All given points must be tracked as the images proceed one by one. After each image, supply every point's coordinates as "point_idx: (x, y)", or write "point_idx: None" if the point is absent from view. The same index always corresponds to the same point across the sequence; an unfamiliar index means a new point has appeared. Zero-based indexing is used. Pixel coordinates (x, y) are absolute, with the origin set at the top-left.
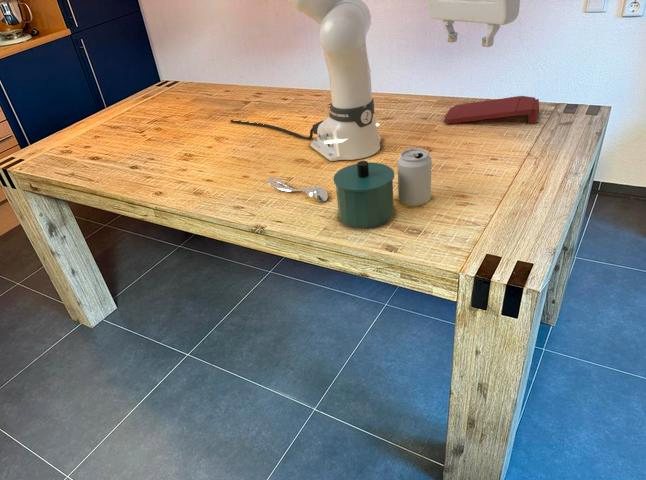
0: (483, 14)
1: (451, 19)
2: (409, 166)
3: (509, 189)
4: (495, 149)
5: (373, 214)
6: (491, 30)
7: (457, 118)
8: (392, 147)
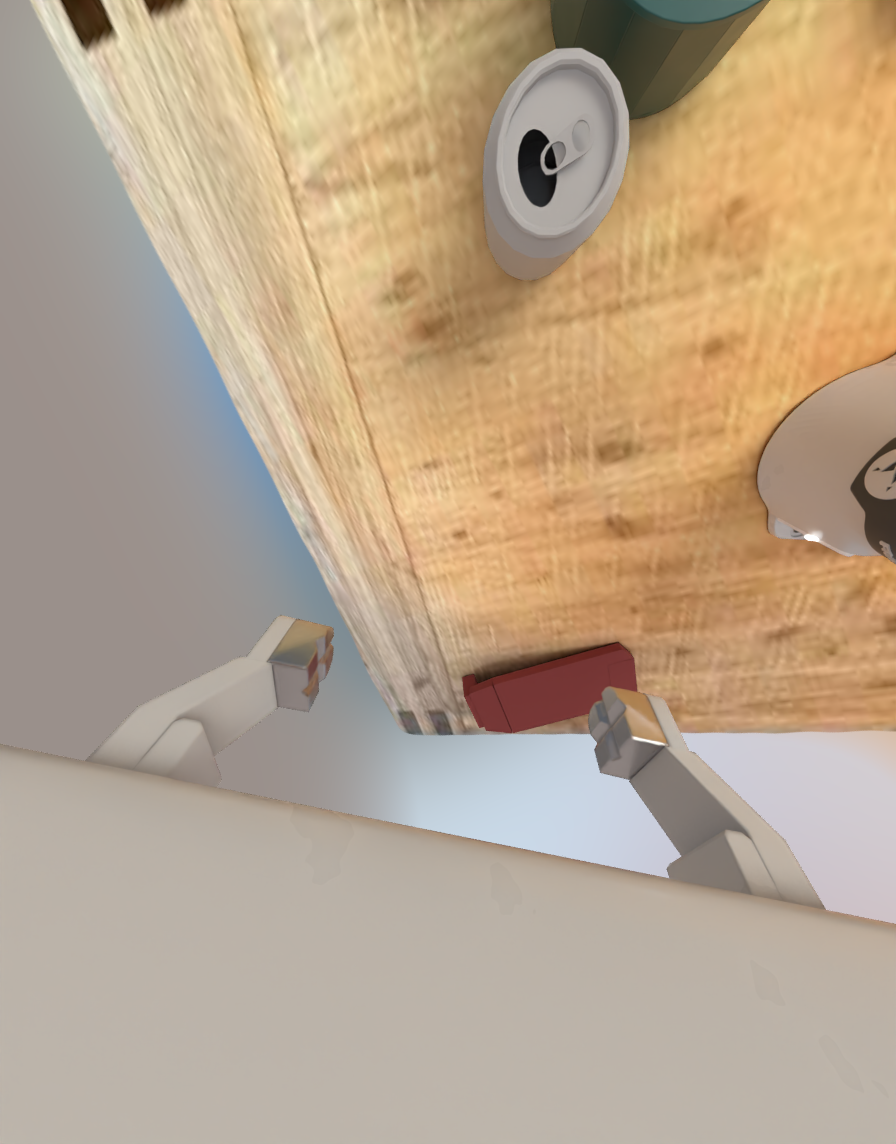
0: (71, 925)
1: (698, 899)
2: (543, 58)
3: (361, 421)
4: (477, 573)
5: None
6: (159, 705)
7: (601, 654)
8: (719, 505)
